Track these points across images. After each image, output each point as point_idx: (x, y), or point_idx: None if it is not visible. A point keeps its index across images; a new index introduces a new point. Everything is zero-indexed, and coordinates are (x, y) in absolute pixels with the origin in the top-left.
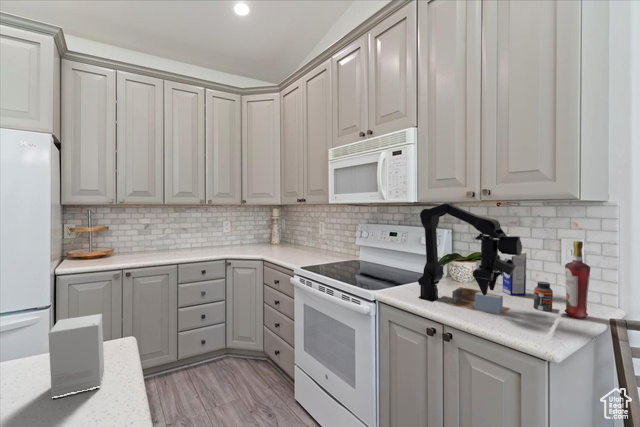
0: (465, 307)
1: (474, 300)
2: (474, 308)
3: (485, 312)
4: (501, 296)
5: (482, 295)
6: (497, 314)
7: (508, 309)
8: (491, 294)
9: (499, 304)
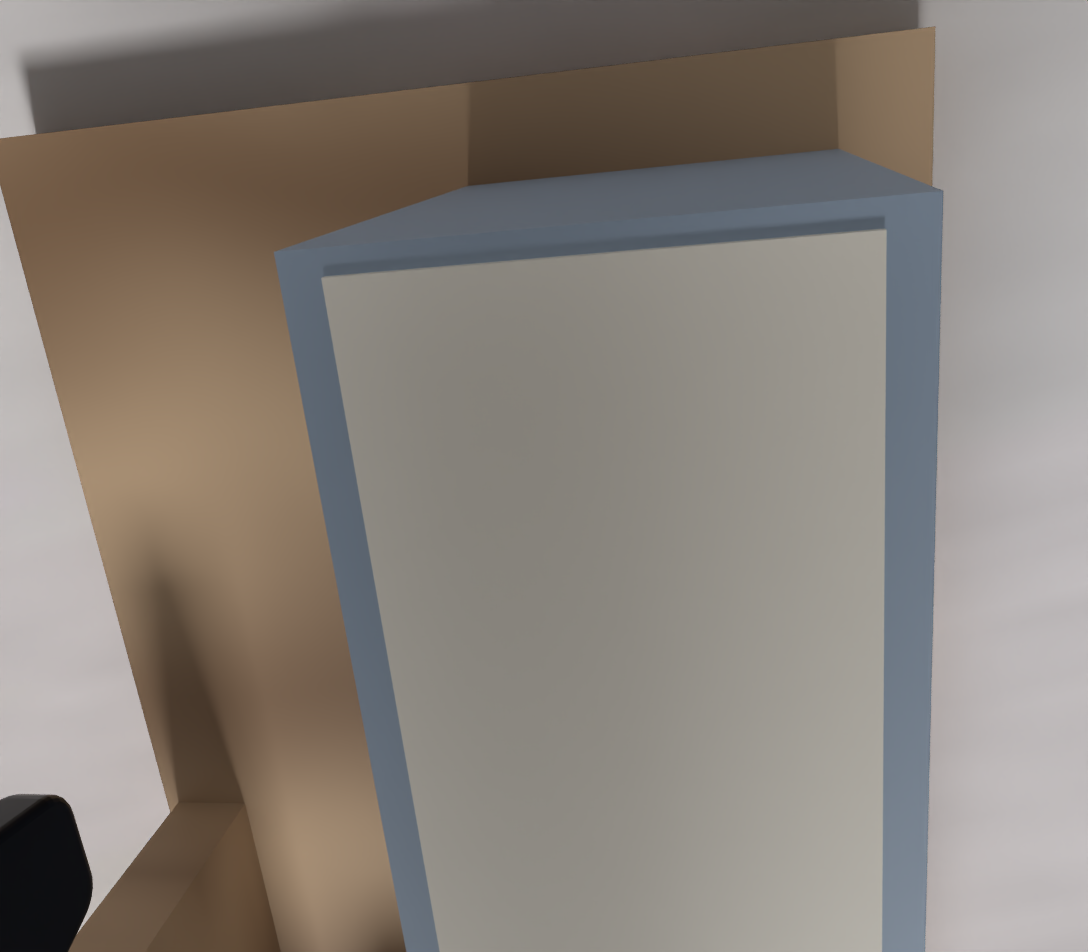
0: None
1: (253, 937)
2: None
3: None
4: (429, 264)
5: (923, 928)
6: None
7: (146, 128)
8: (491, 699)
9: (886, 169)
